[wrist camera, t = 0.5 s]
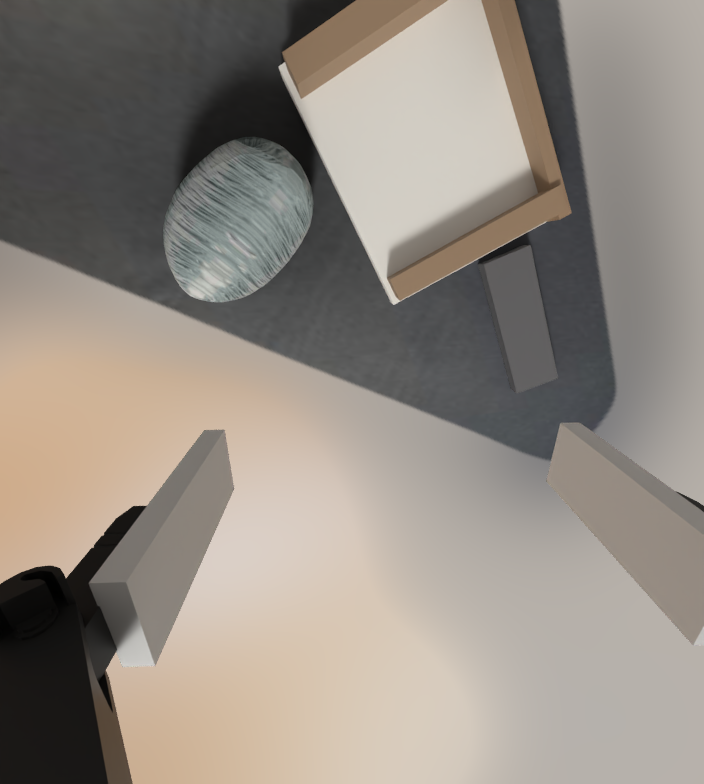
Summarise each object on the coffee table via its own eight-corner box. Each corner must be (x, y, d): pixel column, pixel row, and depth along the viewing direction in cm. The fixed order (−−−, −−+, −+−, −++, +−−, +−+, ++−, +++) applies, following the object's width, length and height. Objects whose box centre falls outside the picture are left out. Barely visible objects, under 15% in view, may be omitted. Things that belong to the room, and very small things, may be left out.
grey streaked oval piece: (250, 82, 26) (241, 124, 19) (333, 188, 32) (346, 245, 26) (149, 209, 31) (118, 272, 25) (237, 277, 38) (229, 341, 32)
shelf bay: (282, 79, 28) (272, 48, 24) (466, -49, 26) (490, -108, 22) (390, 302, 35) (397, 308, 31) (545, 218, 32) (575, 212, 28)
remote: (508, 386, 39) (517, 393, 37) (476, 264, 34) (483, 264, 32) (547, 372, 38) (557, 378, 37) (520, 245, 34) (530, 244, 32)
